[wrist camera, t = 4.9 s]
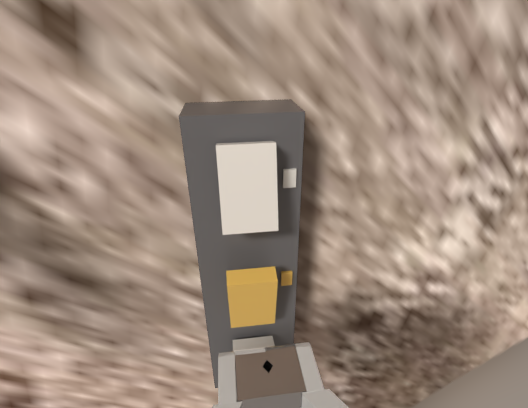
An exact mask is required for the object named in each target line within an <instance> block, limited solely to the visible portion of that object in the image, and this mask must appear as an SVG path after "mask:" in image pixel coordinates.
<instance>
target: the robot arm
mask: <svg viewBox="0 0 528 408" xmlns="http://www.w3.org/2000/svg"><path fill="white" fill-rule="evenodd" d="M212 408H349V407H348V406H347V405H346V404H345V403H344V402H343V401H342V400H341V399H340V398H339V397H337V396H336V395H335V394H334V393H333V392H332V391H331V390H330V389H325V388H324V385H323V382H322V379H321V376H320V372H319V369H318V366H317V363H316V360H315V356H314V353H313V350H312V347H311V344H310V343H309V342H304V343H297V344H286V345H279V346H272V347H265V348H262V349H252V350H242V351H235V352H234V351H232V352H223V353H219V356H218V404H217V405H213V407H212Z"/></svg>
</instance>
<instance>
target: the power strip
mask: <svg viewBox="0 0 528 408" xmlns="http://www.w3.org/2000/svg"><path fill="white" fill-rule="evenodd" d="M304 120H305V111H304V110H302V109H301V108H300V107H299V106H298V105H297V104H295V103H294V102H293V101H292V100H262V101H232V102H202V103H185V105H184V107H183V109H182V111H181V113H180V115H179V121H180V128H181V136H182V143H183V151H184V158H185V166H186V173H187V181H188V188H189V196H190V203H191V211H192V218H193V226H194V233H195V241H196V248H197V256H198V263H199V271H200V278H201V286H202V293H203V301H204V308H205V316H206V323H207V331H208V338H209V346H210V353H211V361H212V368H213V376H214V383H215V388H218V356H219V353H223V352H232V351H233V340H237V339H246V338H255V337H264V336H273V340H274V345H275V346H279V345H286V344H294V327H295V306H296V285H297V265H298V244H299V223H300V203H301V182H302V161H303V141H304ZM260 141H274V142H276V152H277V192H278V231H268V232H255V233H242V234H229V235H223V234H222V221H221V208H220V195H219V182H218V169H217V156H216V144H218V143H239V142H260ZM273 266H275V269H276V274H277V279H278V286H277V300H276V315H275V323H273V324H264V325H255V326H245V327H236V328H231V323H230V313H229V302H228V292H227V276H226V271H229V270H240V269H251V268H262V267H273Z"/></svg>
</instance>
